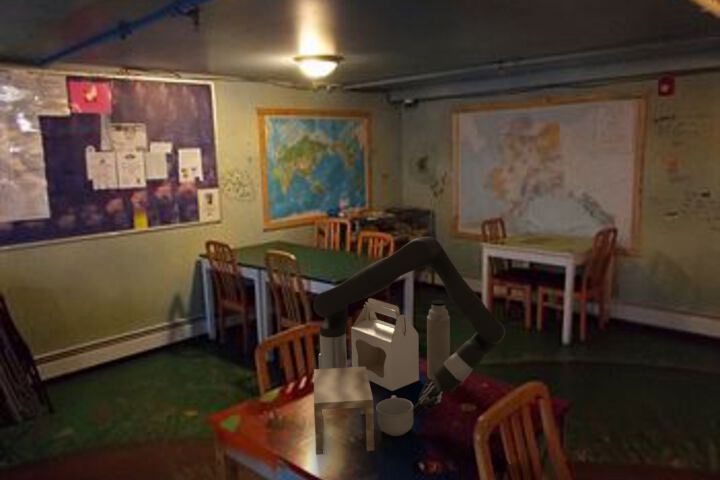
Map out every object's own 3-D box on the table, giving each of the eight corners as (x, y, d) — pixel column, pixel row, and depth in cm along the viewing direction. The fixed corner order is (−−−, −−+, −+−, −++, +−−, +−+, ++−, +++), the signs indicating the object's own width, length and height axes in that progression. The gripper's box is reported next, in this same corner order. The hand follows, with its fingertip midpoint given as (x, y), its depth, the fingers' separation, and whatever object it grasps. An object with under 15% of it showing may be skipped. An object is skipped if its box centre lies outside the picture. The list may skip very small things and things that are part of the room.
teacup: (411, 441, 157) (411, 415, 156) (373, 438, 160) (372, 412, 158) (416, 418, 171) (416, 393, 169) (381, 415, 173) (381, 391, 172)
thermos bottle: (427, 371, 205) (426, 298, 200) (449, 372, 204) (449, 298, 200) (427, 380, 197) (427, 304, 193) (450, 381, 196) (450, 304, 192)
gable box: (351, 372, 207) (349, 299, 202) (378, 363, 215) (376, 292, 210) (392, 391, 190) (391, 312, 185) (419, 380, 198) (419, 304, 193)
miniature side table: (366, 411, 176) (365, 366, 174) (374, 450, 153) (373, 399, 151) (316, 414, 175) (314, 369, 172) (316, 454, 152) (313, 403, 150)
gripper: (439, 355, 170) (400, 395, 171) (450, 372, 157) (408, 416, 158) (456, 370, 171) (418, 410, 172) (468, 389, 158) (426, 432, 159)
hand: (413, 413), depth 165 cm, fingers closed
